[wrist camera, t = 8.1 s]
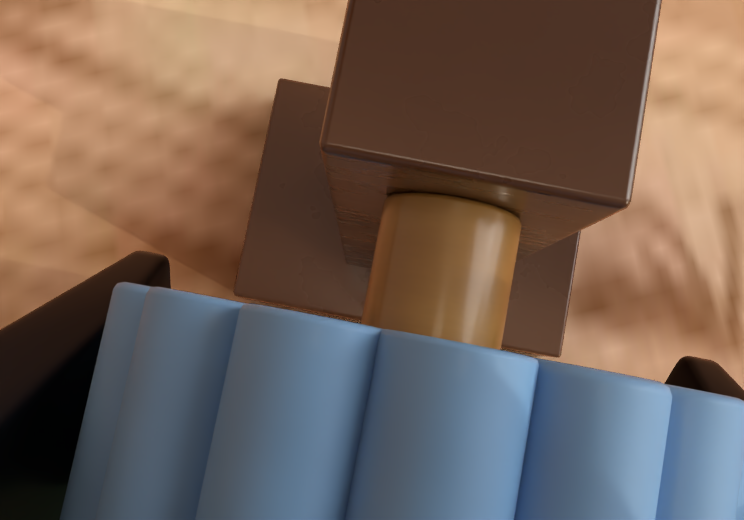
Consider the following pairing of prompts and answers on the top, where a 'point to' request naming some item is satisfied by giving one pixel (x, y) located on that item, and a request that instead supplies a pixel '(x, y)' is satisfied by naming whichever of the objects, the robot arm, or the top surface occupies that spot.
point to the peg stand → (452, 166)
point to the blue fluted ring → (378, 426)
